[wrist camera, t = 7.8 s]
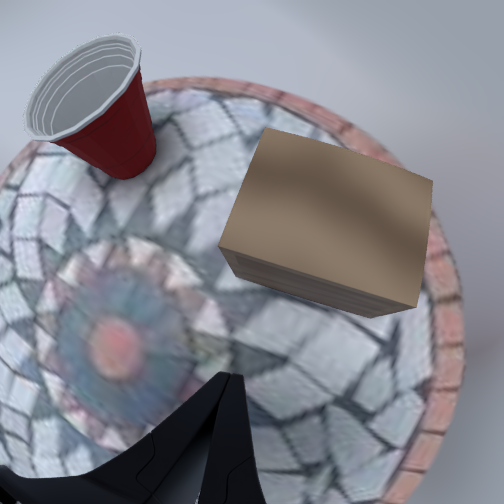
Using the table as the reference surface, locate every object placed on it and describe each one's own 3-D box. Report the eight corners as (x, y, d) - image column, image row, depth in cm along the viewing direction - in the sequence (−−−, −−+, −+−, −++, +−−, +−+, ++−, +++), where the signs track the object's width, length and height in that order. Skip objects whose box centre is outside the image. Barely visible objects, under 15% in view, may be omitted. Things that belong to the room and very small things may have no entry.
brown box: (370, 318, 22) (416, 307, 14) (235, 276, 23) (217, 245, 16) (390, 225, 24) (432, 180, 16) (267, 187, 25) (265, 127, 18)
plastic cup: (74, 207, 27) (-1, 146, 15) (102, 122, 30) (54, 52, 18) (170, 205, 26) (109, 120, 14) (189, 112, 29) (157, 21, 17)
